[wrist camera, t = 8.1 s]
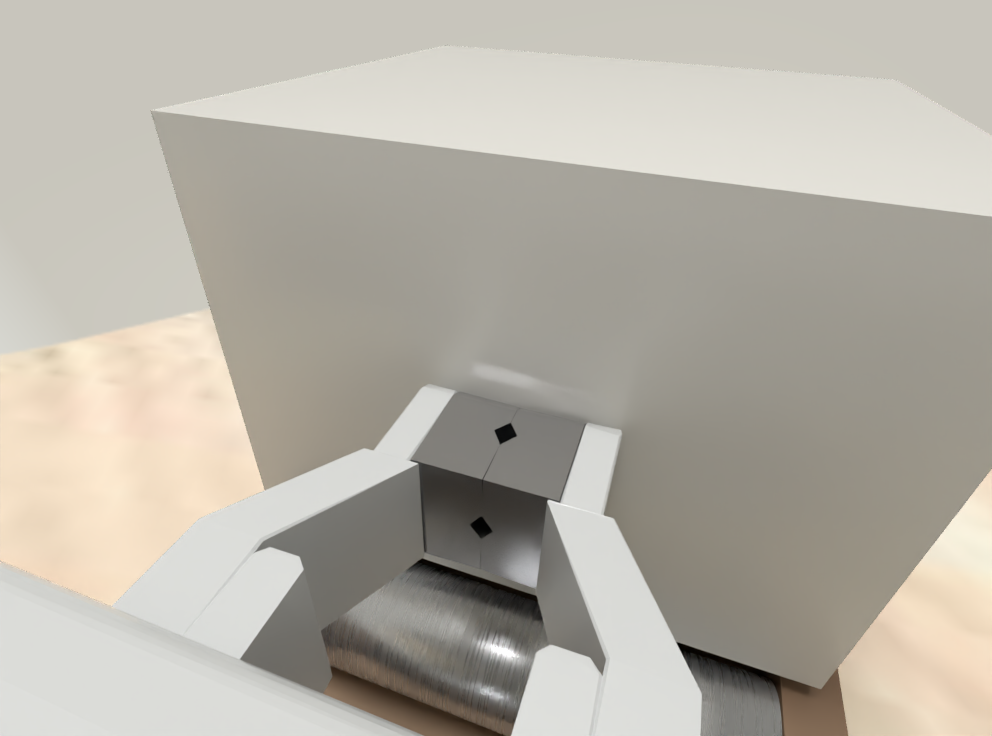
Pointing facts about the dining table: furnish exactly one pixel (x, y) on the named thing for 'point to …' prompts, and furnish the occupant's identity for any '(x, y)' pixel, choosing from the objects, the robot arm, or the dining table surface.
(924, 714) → the dining table surface
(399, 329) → the off-white cardboard box
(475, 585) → the roller track
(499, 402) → the robot arm
